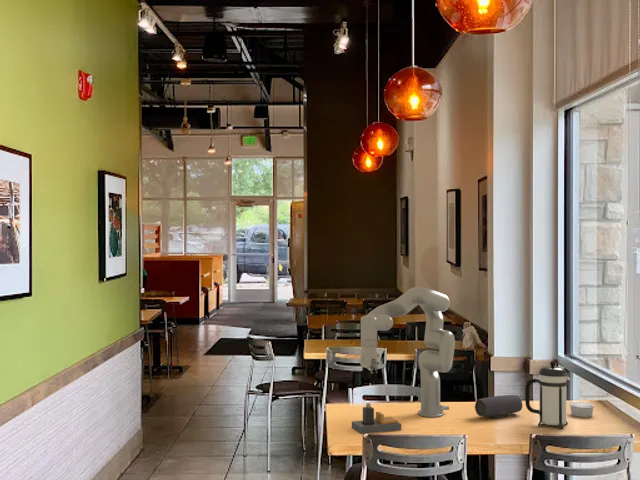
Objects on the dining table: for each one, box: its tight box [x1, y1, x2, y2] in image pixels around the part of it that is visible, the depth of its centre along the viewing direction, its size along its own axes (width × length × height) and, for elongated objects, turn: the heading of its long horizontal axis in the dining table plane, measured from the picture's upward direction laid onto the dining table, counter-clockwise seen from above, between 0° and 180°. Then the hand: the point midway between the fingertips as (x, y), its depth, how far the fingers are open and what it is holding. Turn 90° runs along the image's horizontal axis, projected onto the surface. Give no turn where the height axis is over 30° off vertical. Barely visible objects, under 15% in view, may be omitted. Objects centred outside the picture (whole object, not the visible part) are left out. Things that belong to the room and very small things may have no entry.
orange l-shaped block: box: [374, 411, 399, 424], centre depth 329 cm, size 8×8×4 cm
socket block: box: [351, 418, 402, 435], centre depth 328 cm, size 20×11×3 cm, turn 108°
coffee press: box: [524, 361, 571, 431], centre depth 333 cm, size 17×16×30 cm
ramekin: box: [569, 401, 595, 418], centre depth 353 cm, size 11×11×5 cm
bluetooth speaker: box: [474, 394, 523, 418], centre depth 351 cm, size 23×9×10 cm, turn 115°
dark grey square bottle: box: [362, 402, 375, 425], centre depth 326 cm, size 4×4×12 cm
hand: (369, 379), depth 328 cm, fingers open, 9 cm apart
